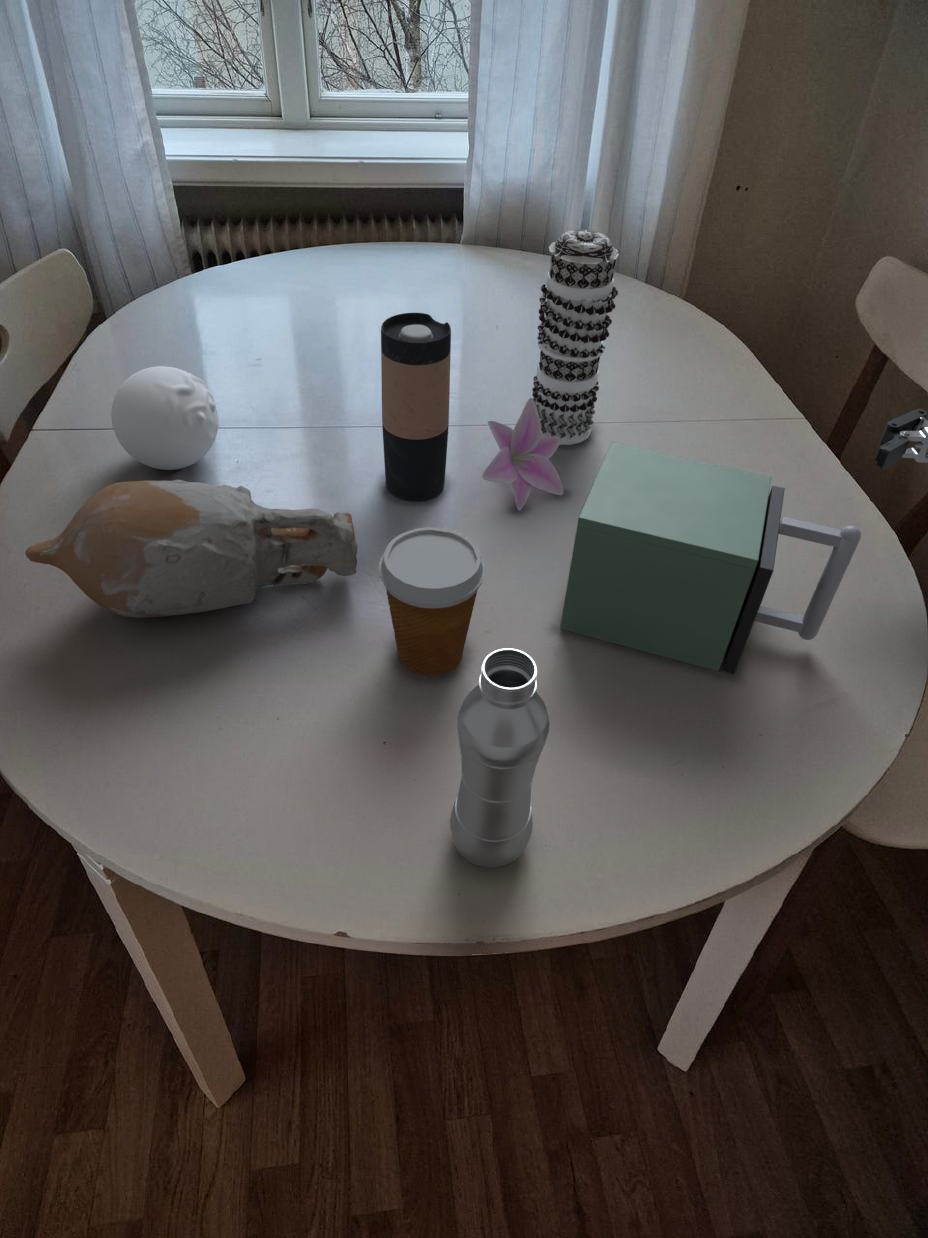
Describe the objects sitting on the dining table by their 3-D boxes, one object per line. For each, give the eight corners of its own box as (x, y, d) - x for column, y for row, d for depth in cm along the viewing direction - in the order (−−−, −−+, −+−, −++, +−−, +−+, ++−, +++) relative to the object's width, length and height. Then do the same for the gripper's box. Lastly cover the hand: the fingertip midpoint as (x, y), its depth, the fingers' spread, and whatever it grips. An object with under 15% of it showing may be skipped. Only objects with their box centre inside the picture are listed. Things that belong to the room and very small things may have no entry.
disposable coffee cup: (388, 694, 80) (386, 597, 72) (375, 624, 87) (372, 528, 78) (488, 682, 81) (497, 586, 73) (468, 614, 88) (474, 519, 80)
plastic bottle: (439, 868, 67) (447, 696, 53) (460, 797, 72) (472, 624, 58) (520, 887, 66) (550, 718, 52) (536, 815, 71) (566, 642, 57)
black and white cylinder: (592, 450, 112) (625, 255, 95) (521, 441, 113) (542, 246, 96) (596, 416, 119) (628, 227, 102) (530, 407, 120) (550, 219, 103)
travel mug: (384, 503, 102) (380, 343, 88) (383, 467, 107) (379, 311, 93) (448, 502, 102) (454, 343, 89) (444, 466, 108) (449, 311, 94)
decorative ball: (198, 496, 101) (180, 405, 93) (105, 480, 103) (78, 388, 94) (241, 444, 109) (227, 356, 101) (154, 429, 111) (133, 342, 103)
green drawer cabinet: (734, 584, 94) (771, 476, 84) (718, 671, 84) (758, 560, 74) (591, 549, 97) (611, 441, 87) (559, 629, 87) (578, 517, 78)
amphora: (11, 472, 81) (323, 404, 82) (89, 574, 94) (357, 514, 95) (-5, 586, 73) (339, 509, 74) (82, 680, 86) (374, 614, 87)
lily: (462, 518, 102) (499, 474, 94) (450, 436, 106) (485, 388, 99) (549, 530, 107) (591, 489, 99) (534, 451, 112) (573, 406, 104)
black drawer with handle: (814, 605, 92) (864, 489, 81) (807, 694, 82) (863, 575, 72) (611, 555, 96) (636, 439, 86) (583, 634, 87) (606, 514, 77)
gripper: (955, 368, 91) (870, 413, 83) (1093, 427, 83) (1013, 483, 75) (926, 431, 96) (843, 478, 88) (1053, 492, 88) (974, 550, 81)
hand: (921, 480), depth 82 cm, fingers open, 8 cm apart
